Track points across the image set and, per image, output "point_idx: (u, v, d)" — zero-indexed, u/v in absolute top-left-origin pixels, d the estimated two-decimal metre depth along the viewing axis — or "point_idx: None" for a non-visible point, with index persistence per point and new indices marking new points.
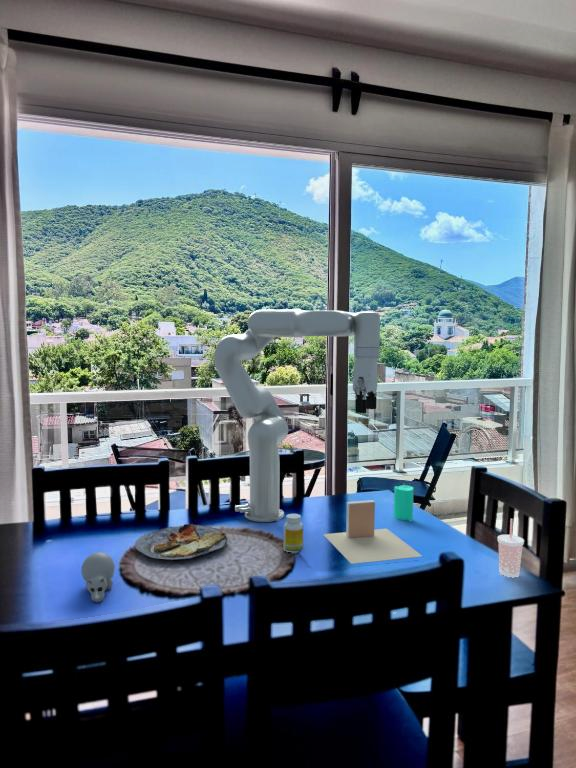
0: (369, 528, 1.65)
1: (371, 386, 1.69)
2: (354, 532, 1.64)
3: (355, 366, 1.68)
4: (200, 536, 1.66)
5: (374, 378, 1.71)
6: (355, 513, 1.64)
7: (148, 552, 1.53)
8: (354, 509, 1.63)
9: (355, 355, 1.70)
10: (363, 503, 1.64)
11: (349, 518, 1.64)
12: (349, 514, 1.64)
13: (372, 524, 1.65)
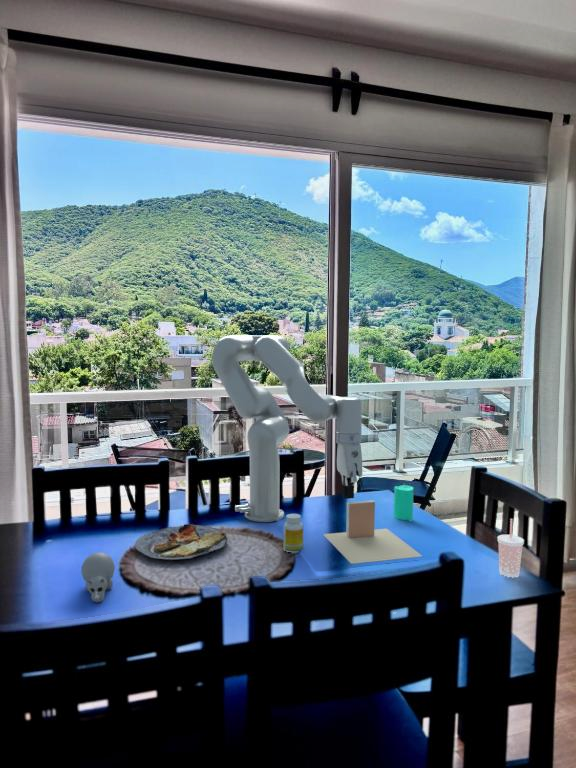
0: (369, 528, 1.65)
1: (339, 468, 1.76)
2: (354, 532, 1.64)
3: None
4: (200, 536, 1.66)
5: (341, 462, 1.73)
6: (355, 513, 1.64)
7: (148, 552, 1.53)
8: (354, 509, 1.63)
9: None
10: (363, 503, 1.64)
11: (349, 518, 1.64)
12: (349, 514, 1.64)
13: (372, 524, 1.65)
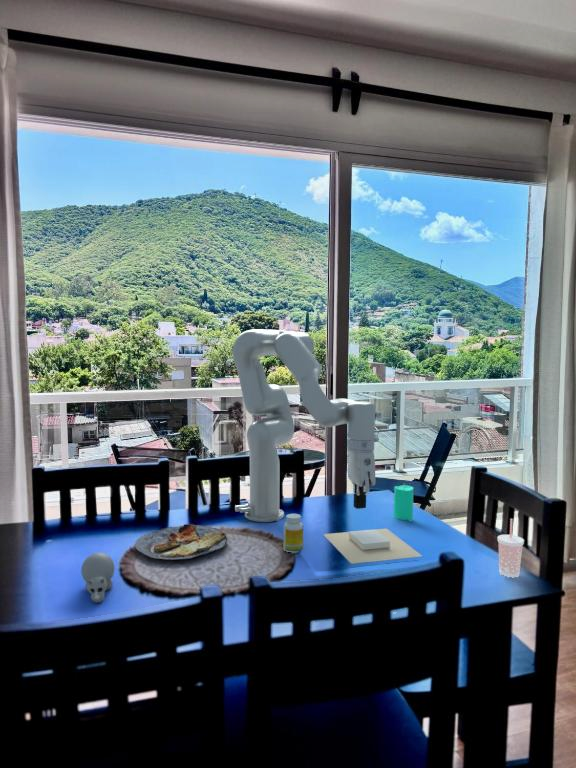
0: None
1: (350, 476, 1.67)
2: None
3: None
4: (200, 536, 1.66)
5: (352, 470, 1.64)
6: None
7: (148, 552, 1.53)
8: None
9: None
10: (377, 548, 1.56)
11: (357, 544, 1.58)
12: (359, 545, 1.57)
13: None
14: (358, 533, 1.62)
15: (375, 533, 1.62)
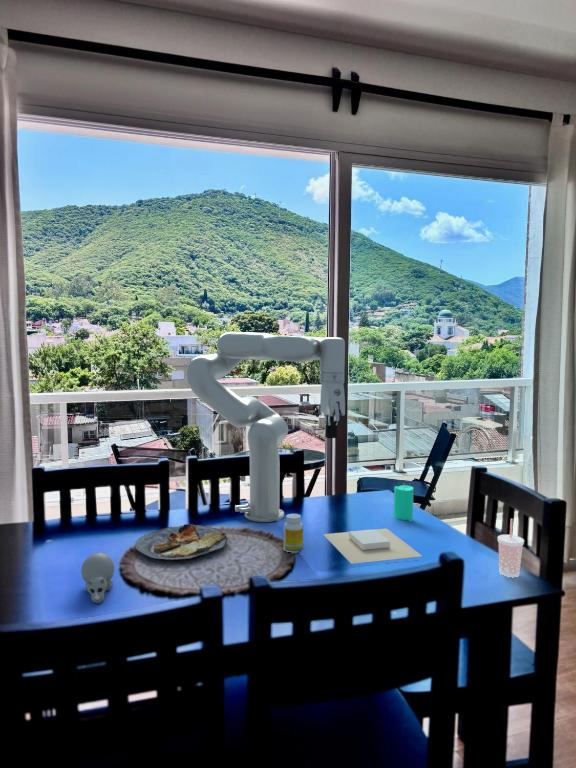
0: None
1: (322, 408, 1.78)
2: None
3: None
4: (200, 536, 1.66)
5: (324, 402, 1.75)
6: None
7: (148, 552, 1.52)
8: None
9: None
10: (377, 548, 1.56)
11: (357, 544, 1.58)
12: (359, 545, 1.57)
13: None
14: (358, 533, 1.62)
15: (375, 533, 1.62)
